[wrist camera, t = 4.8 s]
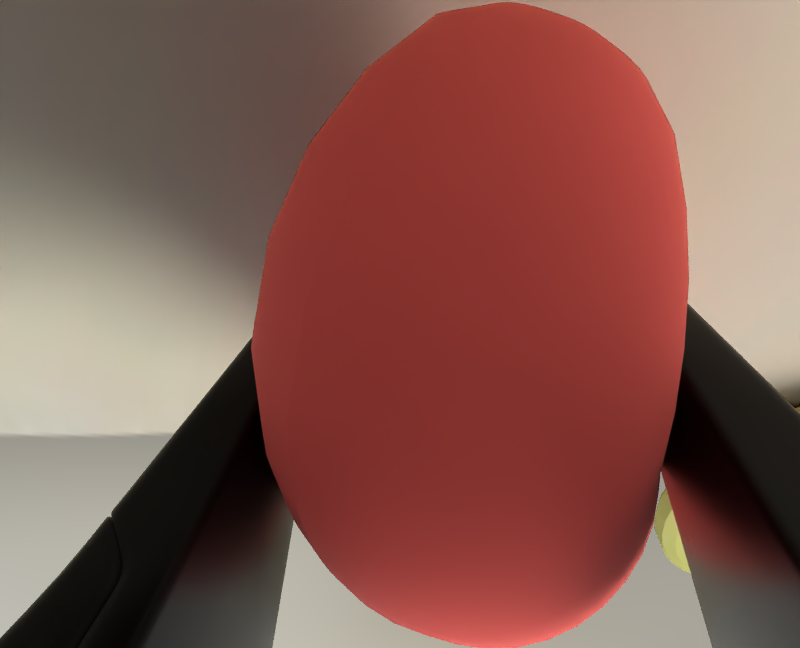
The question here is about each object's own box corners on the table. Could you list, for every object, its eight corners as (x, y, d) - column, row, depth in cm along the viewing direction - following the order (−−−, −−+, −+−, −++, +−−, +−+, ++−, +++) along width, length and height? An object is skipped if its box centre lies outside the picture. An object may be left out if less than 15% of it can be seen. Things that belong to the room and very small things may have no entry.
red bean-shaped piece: (280, 353, 14) (372, 672, 12) (78, 16, 5) (280, 943, 3) (511, 278, 14) (639, 573, 12) (658, -134, 6) (1147, 586, 4)
